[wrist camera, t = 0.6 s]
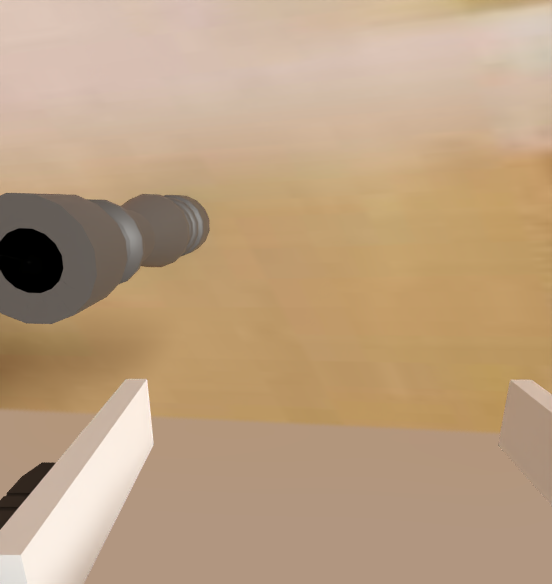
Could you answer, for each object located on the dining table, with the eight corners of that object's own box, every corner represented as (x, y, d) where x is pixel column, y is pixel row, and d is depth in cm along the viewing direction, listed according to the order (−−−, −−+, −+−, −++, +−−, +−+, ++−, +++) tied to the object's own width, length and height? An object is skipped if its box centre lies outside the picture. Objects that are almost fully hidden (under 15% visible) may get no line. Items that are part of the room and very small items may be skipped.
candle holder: (215, 247, 40) (120, 318, 16) (161, 256, 40) (-13, 340, 16) (202, 190, 39) (77, 172, 14) (146, 200, 39) (-68, 199, 15)
